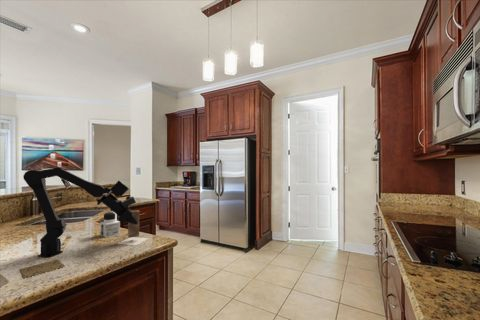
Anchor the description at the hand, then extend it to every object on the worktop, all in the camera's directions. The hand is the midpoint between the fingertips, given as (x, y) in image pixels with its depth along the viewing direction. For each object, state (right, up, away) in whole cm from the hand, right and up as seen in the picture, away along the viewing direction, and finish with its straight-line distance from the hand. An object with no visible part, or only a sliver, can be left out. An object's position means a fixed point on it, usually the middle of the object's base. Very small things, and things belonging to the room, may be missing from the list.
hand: (136, 222), depth 118 cm
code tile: (-1, -10, -1) cm, 10 cm away
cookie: (-22, -9, -32) cm, 40 cm away
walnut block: (-1, -7, -1) cm, 7 cm away
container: (-21, -10, +11) cm, 25 cm away
